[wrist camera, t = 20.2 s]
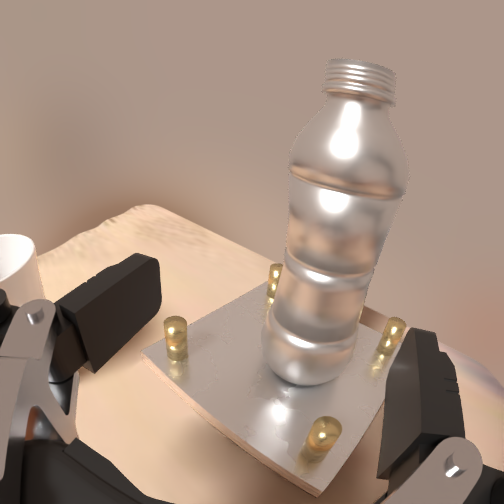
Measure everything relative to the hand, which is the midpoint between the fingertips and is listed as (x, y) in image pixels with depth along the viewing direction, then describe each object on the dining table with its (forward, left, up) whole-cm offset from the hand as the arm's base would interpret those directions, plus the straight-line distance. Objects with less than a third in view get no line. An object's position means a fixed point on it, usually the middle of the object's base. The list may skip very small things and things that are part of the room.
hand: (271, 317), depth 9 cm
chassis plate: (-4, -9, -12) cm, 16 cm away
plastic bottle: (-5, -8, -11) cm, 15 cm away
